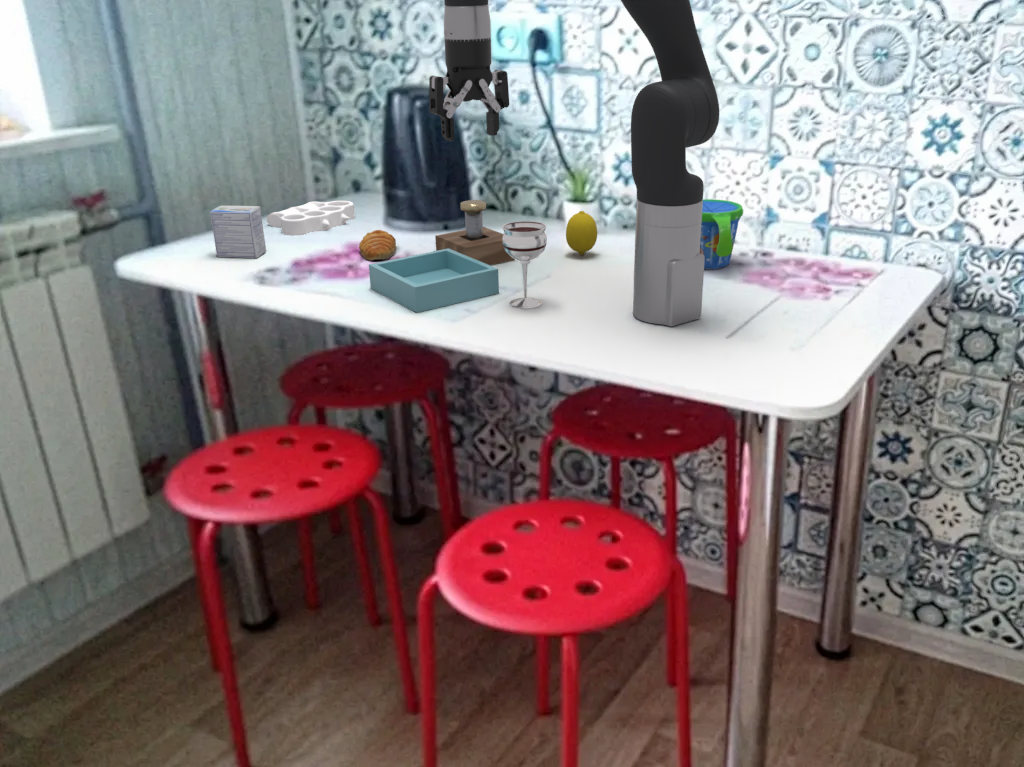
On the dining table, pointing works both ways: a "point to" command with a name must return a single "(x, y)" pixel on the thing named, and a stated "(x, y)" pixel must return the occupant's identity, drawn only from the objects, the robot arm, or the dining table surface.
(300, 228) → the knuckle duster
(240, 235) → the medicine box
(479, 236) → the lock pin
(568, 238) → the lemon
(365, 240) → the pastry
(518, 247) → the wineglass
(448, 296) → the pin tray
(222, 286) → the dining table surface
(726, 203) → the snack cup
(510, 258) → the wooden square hole block
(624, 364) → the dining table surface
